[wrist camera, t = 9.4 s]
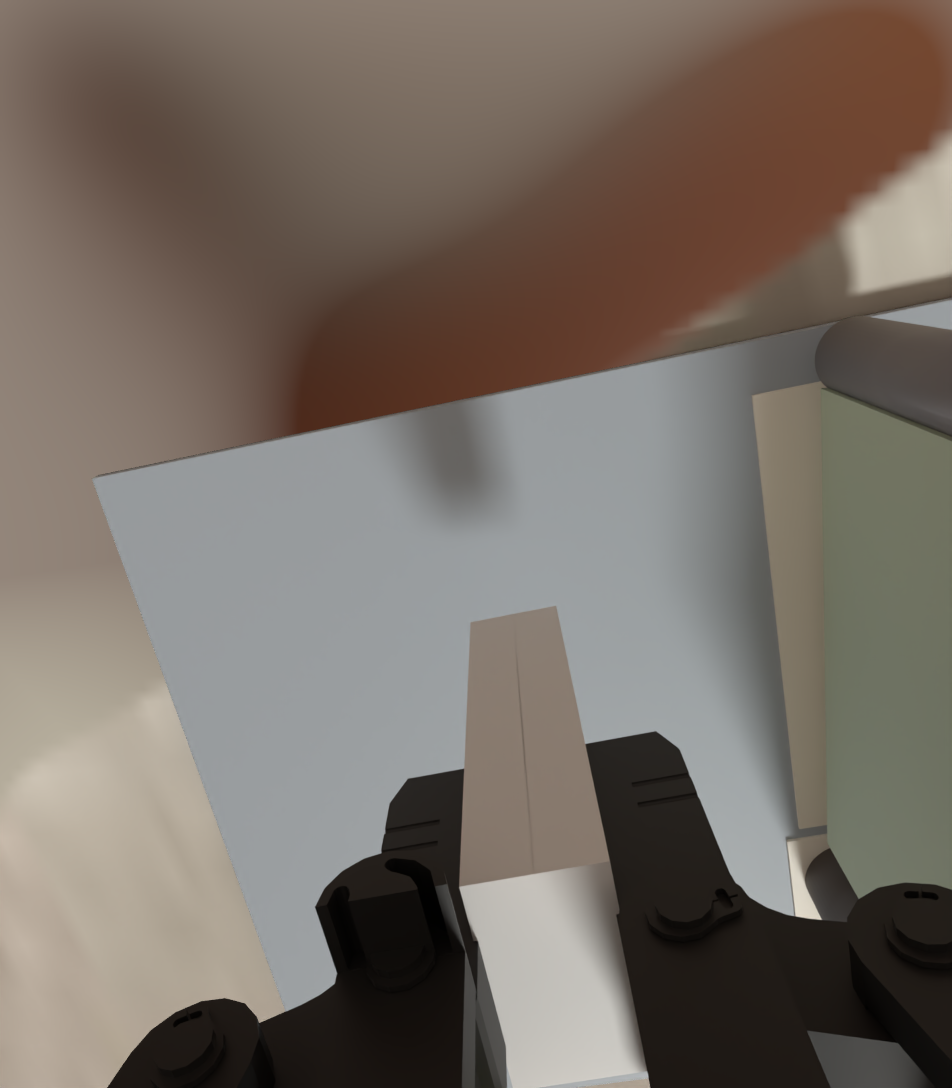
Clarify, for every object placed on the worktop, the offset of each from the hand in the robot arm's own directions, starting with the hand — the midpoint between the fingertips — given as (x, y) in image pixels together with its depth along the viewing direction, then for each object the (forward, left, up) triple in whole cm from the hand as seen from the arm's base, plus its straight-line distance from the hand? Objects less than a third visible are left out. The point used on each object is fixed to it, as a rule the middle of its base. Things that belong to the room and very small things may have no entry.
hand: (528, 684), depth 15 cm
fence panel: (+6, -1, -3) cm, 7 cm away
